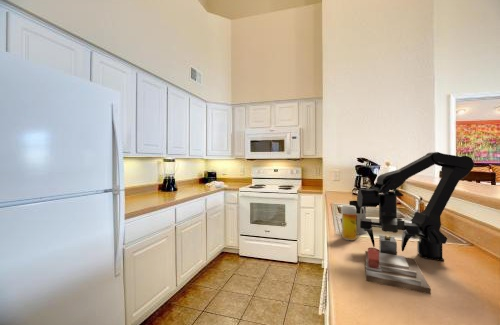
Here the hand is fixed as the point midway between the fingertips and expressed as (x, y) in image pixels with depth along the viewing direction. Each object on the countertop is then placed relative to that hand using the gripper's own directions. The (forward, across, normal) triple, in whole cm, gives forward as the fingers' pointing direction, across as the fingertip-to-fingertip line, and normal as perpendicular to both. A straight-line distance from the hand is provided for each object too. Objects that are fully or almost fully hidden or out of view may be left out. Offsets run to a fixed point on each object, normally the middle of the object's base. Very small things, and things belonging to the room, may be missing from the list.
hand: (387, 248), depth 85 cm
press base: (+2, 0, -15) cm, 15 cm away
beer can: (+2, -14, +13) cm, 19 cm away
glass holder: (+2, -10, +25) cm, 27 cm away
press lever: (+1, -6, -22) cm, 23 cm away
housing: (+2, 0, 0) cm, 2 cm away
